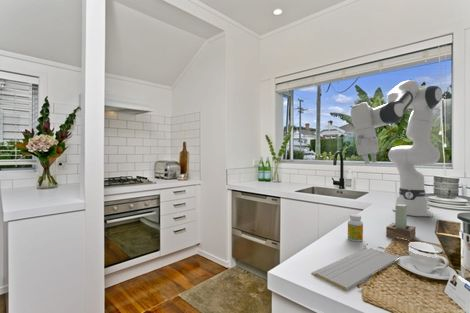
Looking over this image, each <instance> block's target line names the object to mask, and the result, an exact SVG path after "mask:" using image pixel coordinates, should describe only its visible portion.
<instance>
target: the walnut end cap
mask: <svg viewBox="0 0 470 313" xmlns="http://www.w3.org/2000/svg"><path fill="white" fill-rule="evenodd" d="M385 231H386V232H385V234H386V235H385V236H386V237H387V238H392V239H395V238H397V237H399V238H404V239H407V240H409V241H410V240H411V241H412V240H413V239H414V238H415V237H416V226H412V225H408V224H407V230H405V229H400V228H395V222H392V223H390V224H389V225H387V226H386V230H385ZM411 241H410V242H411Z"/></svg>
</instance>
